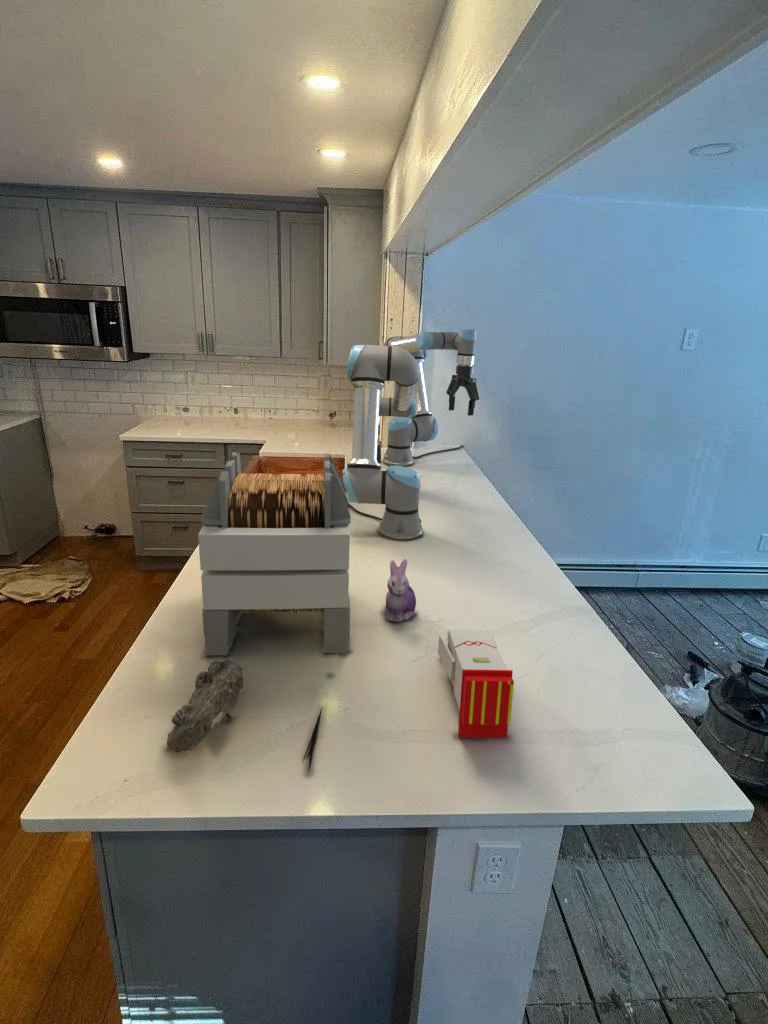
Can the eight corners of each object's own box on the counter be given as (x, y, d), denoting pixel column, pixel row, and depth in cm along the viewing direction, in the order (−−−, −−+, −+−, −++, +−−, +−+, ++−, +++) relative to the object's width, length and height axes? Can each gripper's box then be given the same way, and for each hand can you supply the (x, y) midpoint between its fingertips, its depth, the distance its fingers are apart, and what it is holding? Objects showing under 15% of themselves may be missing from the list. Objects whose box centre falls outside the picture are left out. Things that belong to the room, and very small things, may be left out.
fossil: (192, 660, 117) (244, 628, 112) (224, 691, 120) (276, 661, 115) (142, 746, 98) (202, 712, 93) (182, 779, 101) (242, 748, 96)
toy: (488, 613, 130) (523, 677, 101) (484, 667, 133) (517, 744, 104) (435, 612, 130) (455, 676, 101) (432, 666, 133) (451, 743, 103)
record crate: (226, 586, 157) (217, 442, 143) (344, 585, 161) (346, 445, 147) (202, 658, 125) (189, 482, 112) (350, 654, 129) (354, 483, 115)
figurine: (392, 627, 141) (395, 572, 136) (374, 608, 149) (376, 556, 144) (425, 619, 145) (429, 566, 140) (405, 601, 154) (408, 550, 149)
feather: (331, 679, 122) (336, 673, 122) (307, 777, 96) (313, 769, 95) (324, 675, 122) (329, 669, 121) (298, 772, 95) (304, 764, 95)
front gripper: (391, 428, 240) (388, 480, 248) (367, 420, 255) (365, 469, 263) (376, 430, 236) (374, 482, 244) (352, 421, 251) (351, 471, 259)
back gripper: (490, 368, 245) (485, 417, 252) (453, 362, 265) (449, 407, 272) (477, 368, 241) (472, 418, 249) (441, 362, 261) (437, 408, 268)
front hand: (369, 475), depth 253 cm, fingers open, 7 cm apart
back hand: (460, 412), depth 260 cm, fingers open, 13 cm apart
